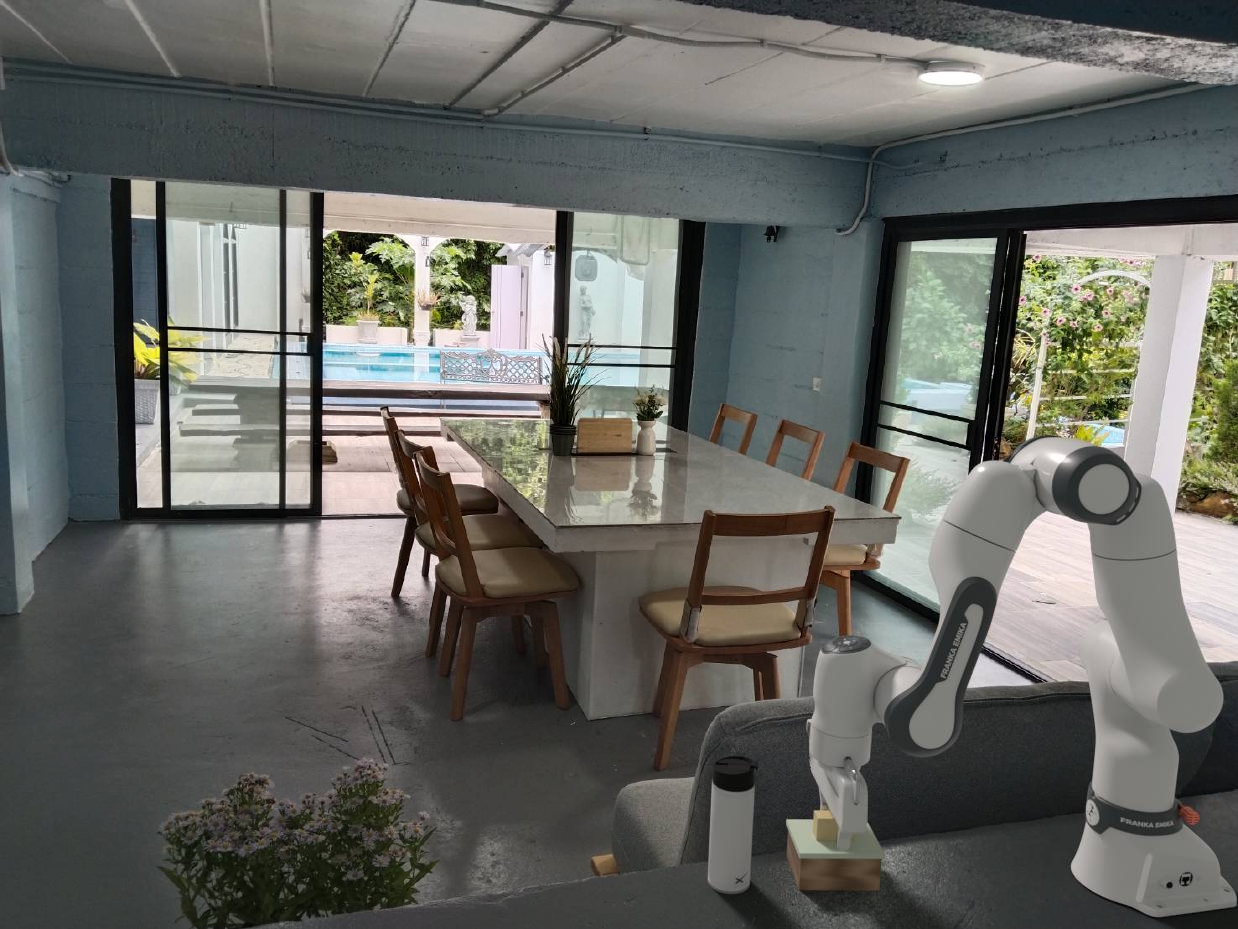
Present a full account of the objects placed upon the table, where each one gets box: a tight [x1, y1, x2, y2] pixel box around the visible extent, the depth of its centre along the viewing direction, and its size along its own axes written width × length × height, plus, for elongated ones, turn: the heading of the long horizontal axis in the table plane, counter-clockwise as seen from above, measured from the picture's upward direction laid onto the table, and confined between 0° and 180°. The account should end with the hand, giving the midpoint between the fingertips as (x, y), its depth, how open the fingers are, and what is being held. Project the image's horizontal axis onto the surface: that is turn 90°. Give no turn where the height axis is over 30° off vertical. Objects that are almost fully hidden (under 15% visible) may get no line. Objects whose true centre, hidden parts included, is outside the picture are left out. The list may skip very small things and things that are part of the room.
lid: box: [785, 809, 886, 860], centre depth 147 cm, size 13×10×5 cm
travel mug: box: [707, 755, 759, 895], centre depth 144 cm, size 6×7×20 cm
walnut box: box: [786, 829, 883, 891], centre depth 148 cm, size 12×9×6 cm
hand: (834, 830), depth 147 cm, fingers open, 8 cm apart
